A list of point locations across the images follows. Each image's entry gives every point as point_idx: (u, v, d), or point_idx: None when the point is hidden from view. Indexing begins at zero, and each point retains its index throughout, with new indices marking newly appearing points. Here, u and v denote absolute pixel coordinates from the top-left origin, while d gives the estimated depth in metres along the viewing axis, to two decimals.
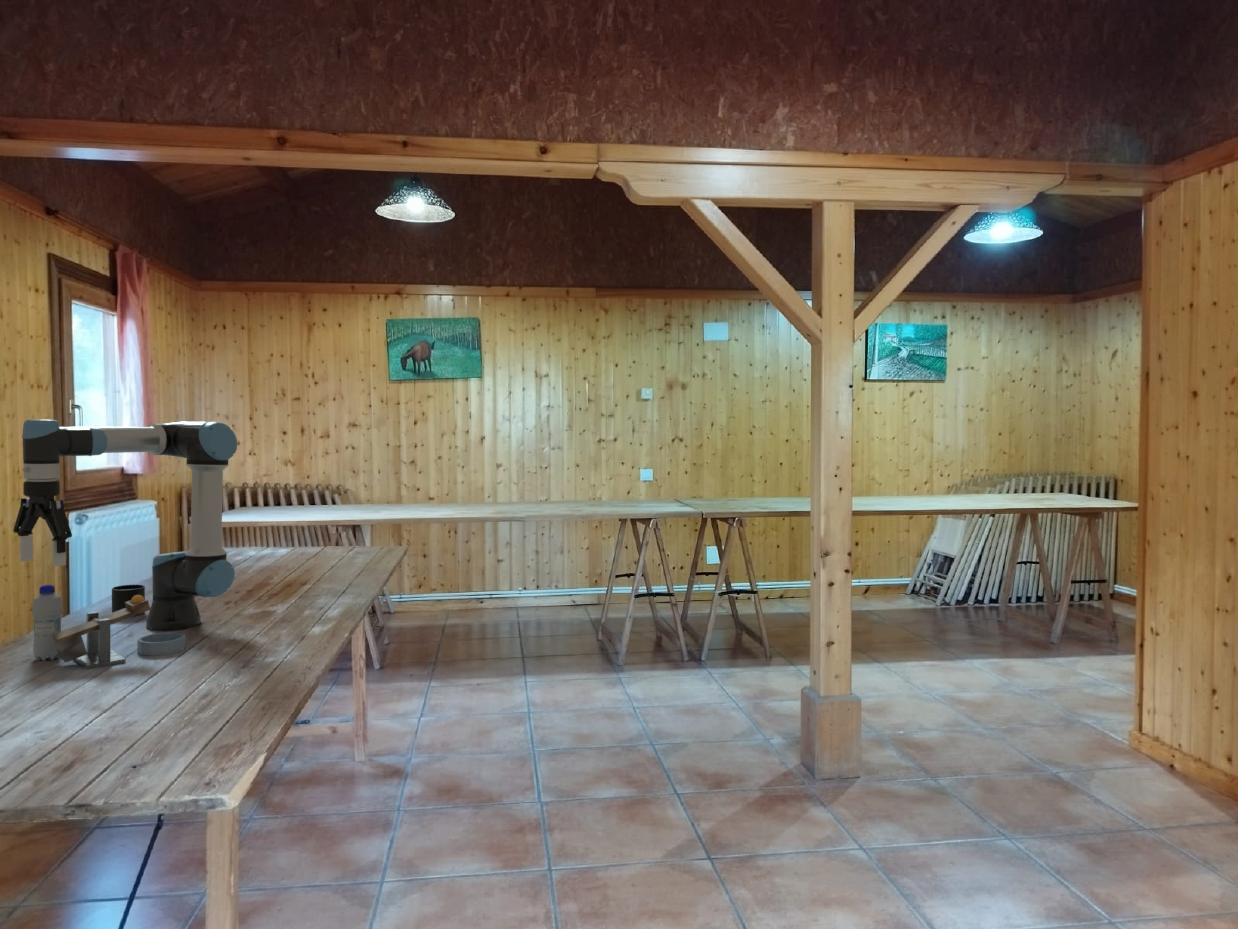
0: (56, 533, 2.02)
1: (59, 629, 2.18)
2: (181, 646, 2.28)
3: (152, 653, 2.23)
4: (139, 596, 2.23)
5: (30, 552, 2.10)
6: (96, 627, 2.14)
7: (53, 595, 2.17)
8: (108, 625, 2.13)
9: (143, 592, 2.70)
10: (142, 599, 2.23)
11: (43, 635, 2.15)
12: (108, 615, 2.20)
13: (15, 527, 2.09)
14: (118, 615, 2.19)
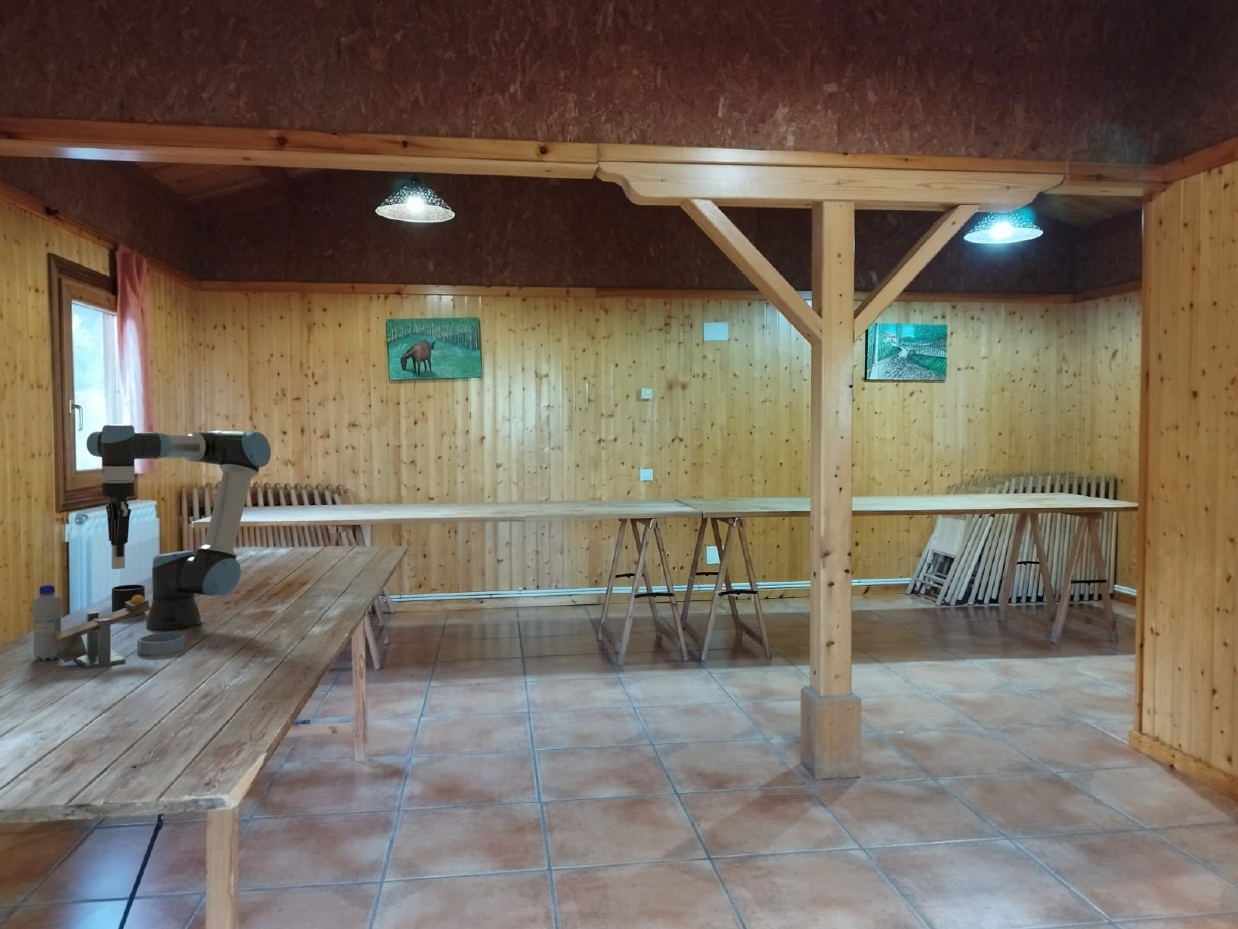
0: None
1: (59, 629, 2.18)
2: (181, 646, 2.28)
3: (152, 653, 2.23)
4: (139, 596, 2.23)
5: None
6: (96, 627, 2.14)
7: (53, 595, 2.17)
8: (108, 625, 2.13)
9: (143, 592, 2.70)
10: (142, 599, 2.23)
11: (43, 635, 2.15)
12: (108, 615, 2.20)
13: (109, 535, 2.21)
14: (118, 615, 2.19)
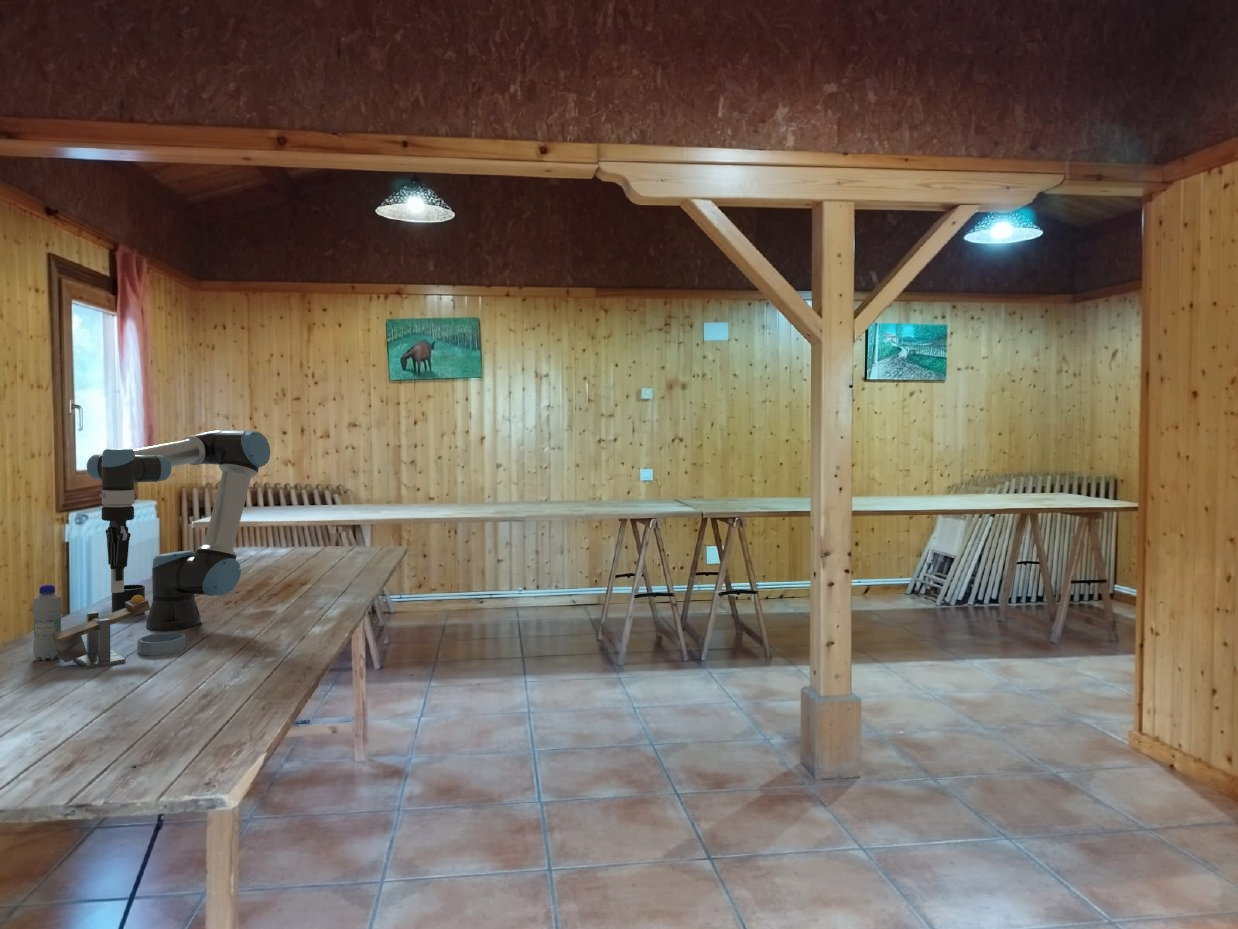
0: (115, 563, 2.18)
1: (59, 629, 2.18)
2: (181, 646, 2.28)
3: (152, 653, 2.23)
4: (139, 596, 2.23)
5: None
6: (96, 627, 2.14)
7: (53, 595, 2.17)
8: (108, 625, 2.13)
9: (143, 592, 2.70)
10: (142, 599, 2.23)
11: (43, 635, 2.15)
12: (108, 615, 2.20)
13: (108, 559, 2.21)
14: (118, 615, 2.19)
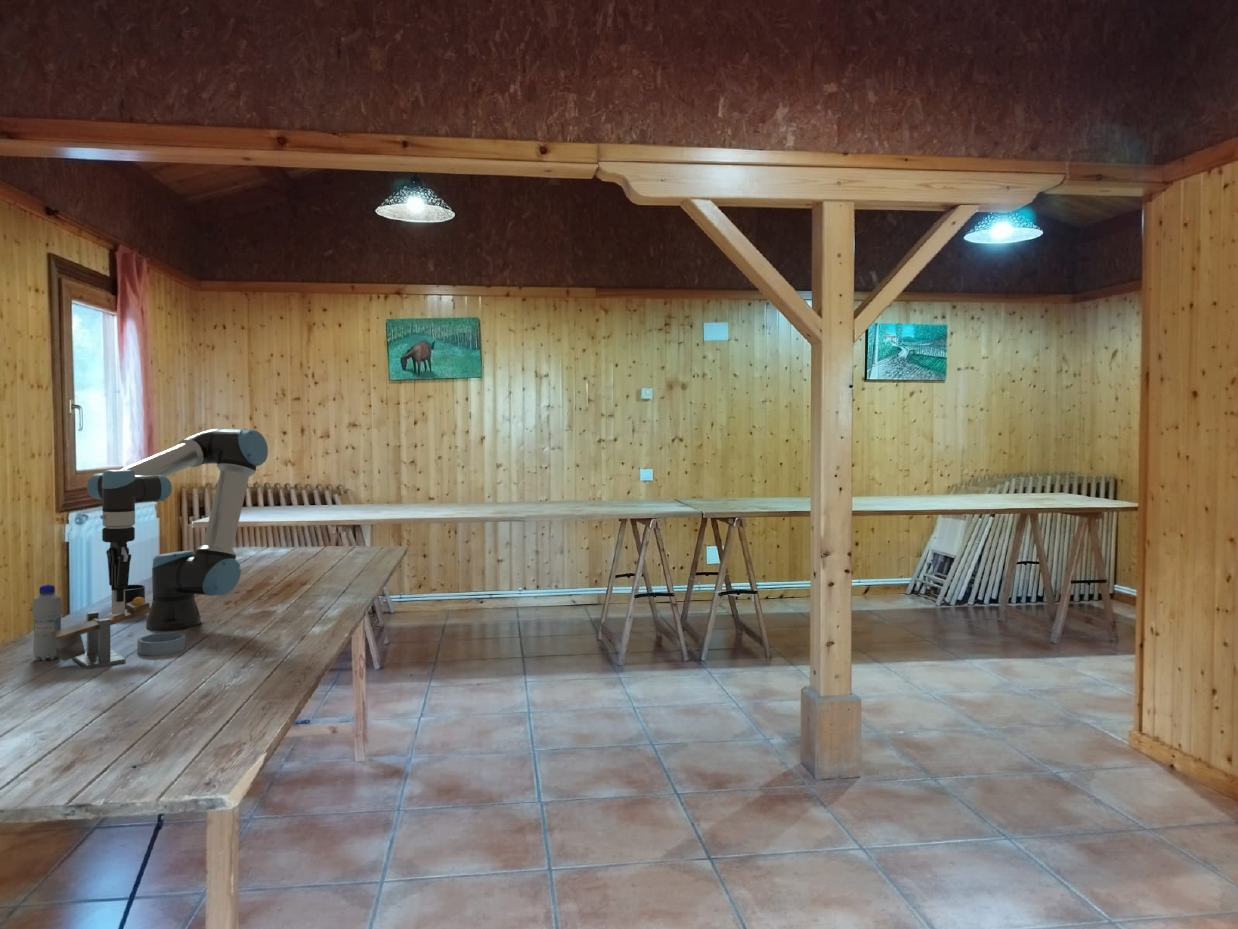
0: (116, 584, 2.18)
1: (59, 629, 2.18)
2: (181, 646, 2.28)
3: (152, 653, 2.23)
4: (140, 598, 2.23)
5: None
6: (96, 627, 2.14)
7: (53, 595, 2.17)
8: (108, 625, 2.13)
9: (143, 592, 2.70)
10: (143, 601, 2.24)
11: (43, 635, 2.15)
12: (108, 616, 2.20)
13: (109, 580, 2.21)
14: (118, 616, 2.19)
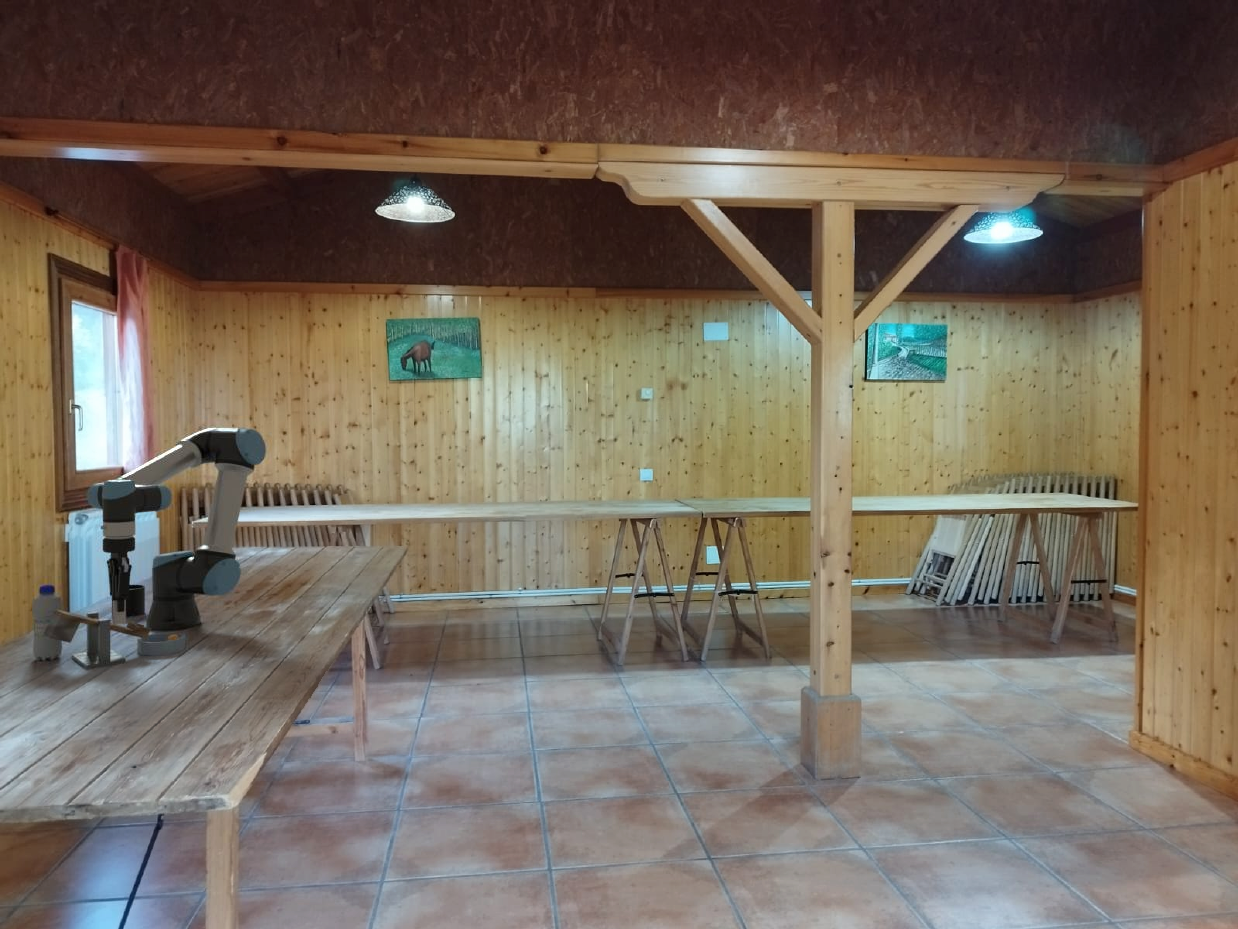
0: None
1: None
2: (181, 646, 2.28)
3: (152, 653, 2.23)
4: (175, 636, 2.30)
5: None
6: (96, 624, 2.14)
7: (53, 595, 2.17)
8: (108, 625, 2.13)
9: (143, 592, 2.70)
10: None
11: (43, 635, 2.15)
12: None
13: (110, 590, 2.22)
14: (119, 626, 2.19)
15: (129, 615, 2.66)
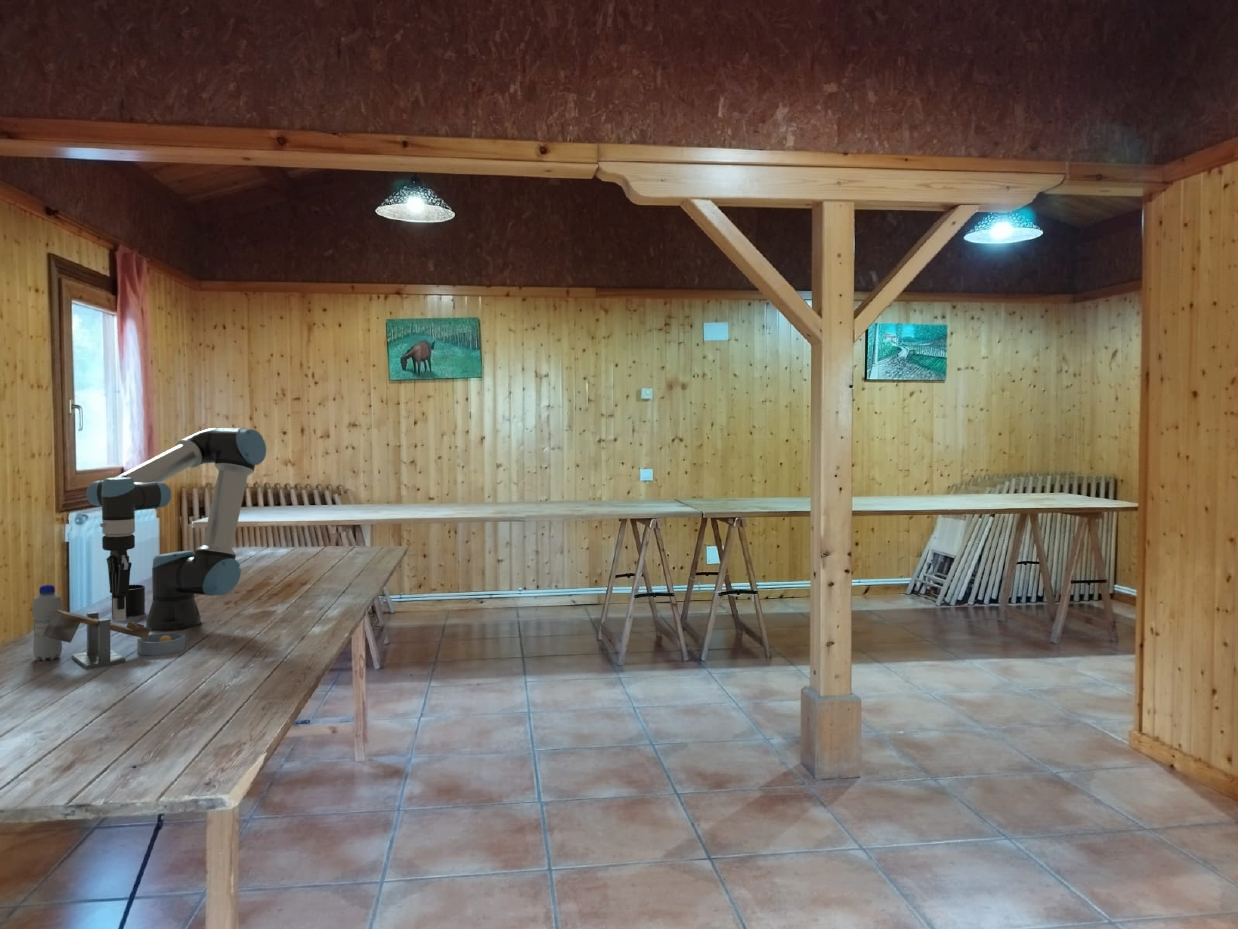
0: None
1: None
2: (181, 646, 2.28)
3: (152, 653, 2.23)
4: (162, 640, 2.28)
5: None
6: (96, 624, 2.14)
7: (53, 595, 2.17)
8: (108, 625, 2.13)
9: (143, 592, 2.70)
10: (166, 639, 2.28)
11: (43, 635, 2.15)
12: None
13: (110, 587, 2.22)
14: (119, 626, 2.19)
15: (129, 615, 2.66)
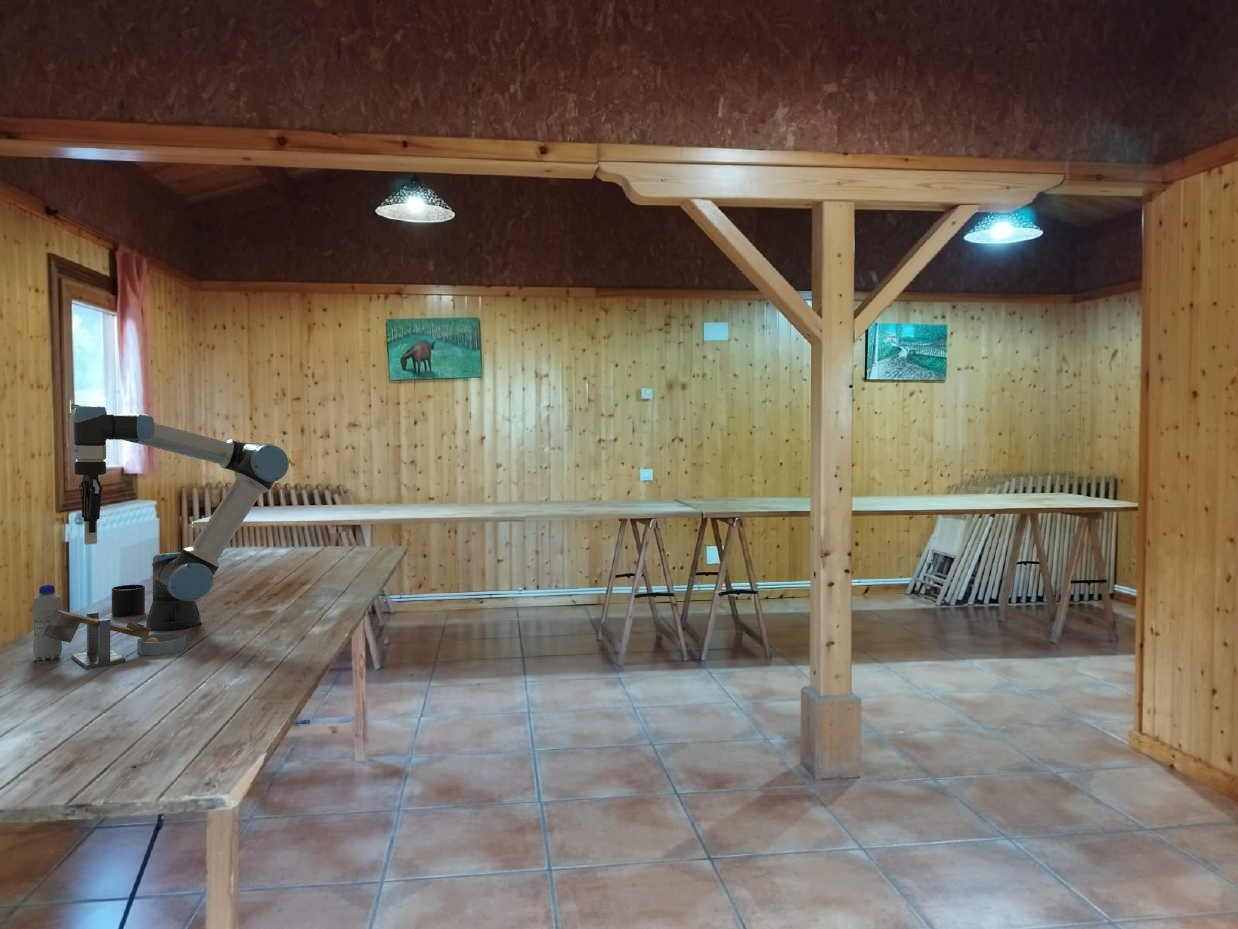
0: (88, 515, 2.27)
1: None
2: (181, 646, 2.28)
3: (152, 653, 2.23)
4: None
5: None
6: (96, 624, 2.14)
7: (53, 595, 2.17)
8: (108, 625, 2.13)
9: (143, 592, 2.70)
10: None
11: (43, 635, 2.15)
12: None
13: (82, 512, 2.30)
14: (119, 626, 2.19)
15: (129, 615, 2.66)
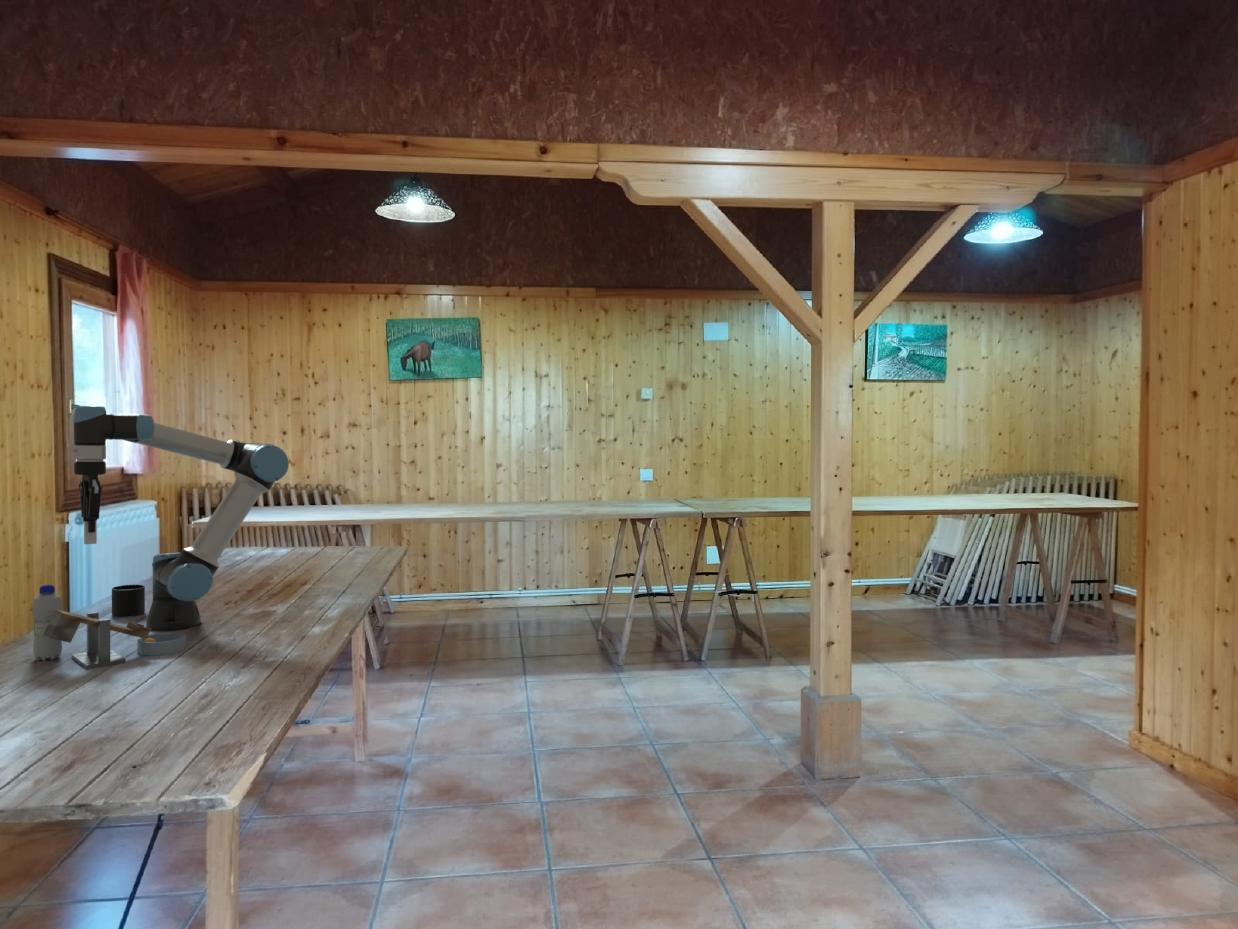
0: None
1: None
2: (181, 646, 2.28)
3: (152, 653, 2.23)
4: None
5: None
6: (96, 624, 2.14)
7: (53, 595, 2.17)
8: (108, 625, 2.13)
9: (143, 592, 2.70)
10: None
11: (43, 635, 2.15)
12: None
13: (81, 512, 2.30)
14: (119, 626, 2.19)
15: (129, 615, 2.66)
